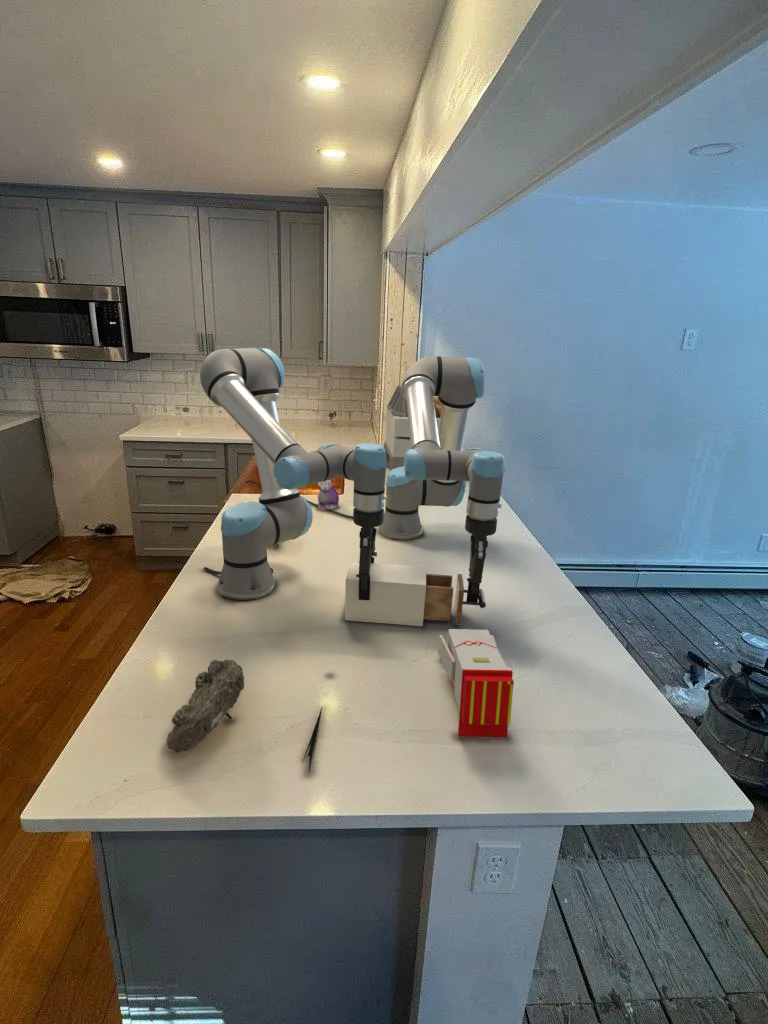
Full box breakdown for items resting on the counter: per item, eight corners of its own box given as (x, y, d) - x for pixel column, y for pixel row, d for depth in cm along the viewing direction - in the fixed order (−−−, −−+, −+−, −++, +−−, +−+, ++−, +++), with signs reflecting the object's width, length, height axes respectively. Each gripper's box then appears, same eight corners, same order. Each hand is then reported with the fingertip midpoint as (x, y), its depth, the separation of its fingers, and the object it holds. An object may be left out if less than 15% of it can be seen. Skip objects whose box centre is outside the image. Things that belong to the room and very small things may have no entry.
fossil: (192, 660, 117) (244, 628, 112) (224, 691, 120) (276, 661, 115) (142, 746, 98) (202, 712, 93) (182, 779, 101) (242, 748, 96)
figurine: (321, 512, 217) (321, 474, 212) (311, 504, 225) (311, 467, 220) (344, 509, 221) (344, 472, 216) (333, 501, 229) (334, 465, 224)
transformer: (382, 463, 289) (386, 382, 275) (445, 464, 293) (451, 384, 279) (390, 482, 257) (394, 392, 243) (460, 483, 261) (468, 394, 247)
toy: (488, 613, 130) (523, 677, 101) (484, 667, 133) (517, 744, 104) (435, 612, 130) (455, 676, 101) (432, 666, 133) (451, 743, 103)
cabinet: (423, 606, 152) (426, 567, 148) (422, 626, 142) (426, 584, 138) (349, 600, 153) (351, 561, 149) (344, 620, 143) (345, 578, 139)
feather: (331, 679, 122) (336, 673, 122) (307, 777, 96) (313, 769, 95) (324, 675, 122) (329, 669, 121) (298, 772, 95) (304, 764, 95)
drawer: (480, 609, 150) (484, 575, 147) (483, 626, 142) (488, 592, 138) (388, 601, 151) (390, 568, 148) (386, 619, 143) (388, 584, 140)
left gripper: (380, 525, 127) (377, 612, 135) (387, 494, 149) (384, 571, 156) (347, 523, 128) (345, 610, 135) (358, 492, 149) (357, 569, 156)
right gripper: (500, 526, 130) (488, 616, 138) (494, 508, 143) (484, 592, 150) (467, 524, 131) (458, 614, 139) (464, 506, 143) (456, 589, 151)
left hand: (366, 589), depth 146 cm, fingers closed on cabinet, 10 cm apart
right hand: (471, 602), depth 145 cm, fingers closed
